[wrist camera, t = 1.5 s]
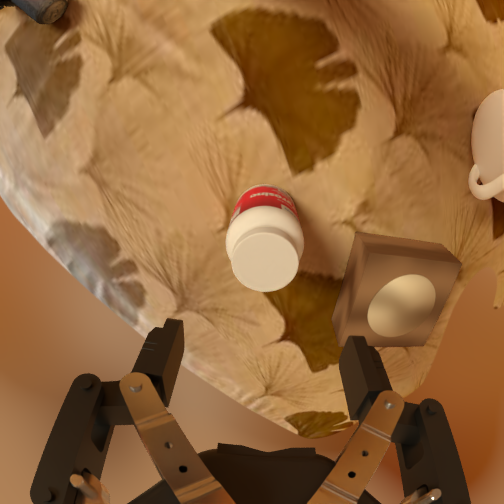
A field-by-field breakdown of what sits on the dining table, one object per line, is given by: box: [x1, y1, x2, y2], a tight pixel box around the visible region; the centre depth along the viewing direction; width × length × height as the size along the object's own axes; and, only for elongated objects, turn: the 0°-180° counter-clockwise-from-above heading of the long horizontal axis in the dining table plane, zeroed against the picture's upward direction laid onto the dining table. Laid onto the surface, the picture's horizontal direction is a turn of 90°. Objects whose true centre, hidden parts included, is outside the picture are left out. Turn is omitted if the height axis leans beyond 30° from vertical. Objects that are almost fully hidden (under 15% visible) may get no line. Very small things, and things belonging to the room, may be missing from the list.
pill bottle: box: [226, 184, 304, 292], centre depth 26 cm, size 6×6×11 cm
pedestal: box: [332, 232, 462, 347], centre depth 32 cm, size 12×12×5 cm
